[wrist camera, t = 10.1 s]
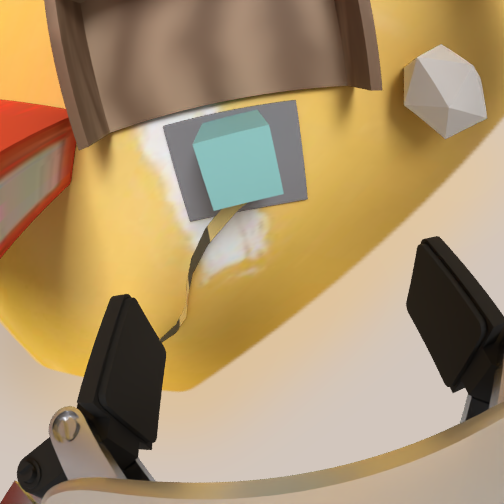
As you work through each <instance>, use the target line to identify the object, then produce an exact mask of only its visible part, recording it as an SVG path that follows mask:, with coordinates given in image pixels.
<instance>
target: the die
mask: <svg viewBox="0 0 504 504" xmlns="http://www.w3.org/2000/svg"><path fill="white" fill-rule="evenodd" d="M404 106H406V107H407V108H408V109H409V110H411V111H412V112H413V113H415V114H416V115H417V116H418V117H420V118H421V119H422V120H423V121H425V122H426V123H427V124H428V125H429V126H431V127H432V128H433V129H434V130H435V131H436V132H438V133H439V134H440V135H441V136H442V137H443V138H444V139H447V138H449V137H451V136H453V135H455V134H457V133H459V132H461V131H463V130H465V129H467V128H469V127H471V126H473V125H475V124H477V123H479V122H481V121H483V120H485V119H487V113H486V106H485V99H484V93H483V88H482V83H481V78H480V76H479V75H478V73H477V71H476V69H475V68H474V66H473V65H472V64H471V63H469V62H468V61H466V60H465V59H463V58H462V57H460V56H459V55H457V54H456V53H454V52H453V51H451V50H450V49H448V48H447V47H445V46H443V45H442V44H440V45H438V46H436V47H435V48H433V49H431V50H429V51H427V52H426V53H424V54H422V55H420V56H419V57H417V58H416V59H414V60H413V61H412V62H410V63H409V64H408V65H406V66H405V67H404Z"/></svg>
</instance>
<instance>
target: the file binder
mask: <svg viewBox="0 0 504 504" xmlns="http://www.w3.org/2000/svg"><path fill="white" fill-rule="evenodd" d="M75 147H76V140H75V137H74V134H73V131H72V127H71V124H70V121H69V117H68V114H67V110H66V109H62V108H57V107H51V106H44V105H38V104H31V103H24V102H16V101H8V100H0V258H1V257H2V256H3V255H4V253H5V252H6V251H7V250H8V249H9V247H10V246H11V245H12V244H13V243H14V241H15V240H16V239H17V238H18V237H19V236H20V235H21V233H22V232H23V231H24V230H25V229H26V228H27V227H28V226H29V225H30V224H31V222H32V221H33V220H34V219H35V218H36V217H37V216H38V215H39V214H40V213H41V212H42V211H43V210H44V209H45V208H46V207H47V206H48V205H49V204H50V203H51V202H52V201H53V200H54V199H55V198H56V197H57V196H58V195H59V194H60V193H61V192H62V191H63V190H64V189H65V188H66V187H67V186H68V185H69V184H70V182H71V178H72V169H73V161H74V154H75Z"/></svg>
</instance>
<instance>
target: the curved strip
mask: <svg viewBox="0 0 504 504" xmlns="http://www.w3.org/2000/svg"><path fill="white" fill-rule="evenodd" d="M245 204H246V203H244V204H239V205H235V206H231V207H227V208H223V209H222V210H221V211H220V212H219V213H218V214H217V215H216V216H215V217H214V218H213V220H212V221H211V222H210V224H209V225H208V226H207V227H206V229H205V231H204V233H203V235H202V237H201V239H200V241H199V243H198V246H197V248H196V250H195V252H194V254H193V256H192V259H191V263H190V268H189V274H188V279H187V286H186V306H185V308H184V310H183V312H182V314H181V316H180V318H179V320H178V322H177V324H176V325H175V326H174V327H173V328H171V329H170V330H169V331H168V332H167V333H166V334H165V335H164V336H163V337H162V338H161V339H159V340H160V341H161V343H162V342H163V341H165V340H166V339H168V338H169V337H171V336H172V335H174V334H175V333H176V332H177V330H178V329H179V327H180V326H181V324H182V323H183V321H184V320H185V318H186V315H187V301H188V294H189V289H190V284H191V279H192V274H193V272H194V270H195V268H196V266H197V264H198V263H199V261H200V259H201V257H202V255H203V253H204V251H205V249H206V247H207V245H208V244H209V243H210V242H211V240H212V239H213V238H214V237H215V236H216V235H217V234H218V232H219V231H220V230H221V229H222V228H223V227H224V225H225V224H226V223H227V222H228V221H229V220H230V219H231V218H232V216H233V215H234V214H235V213H236V212H237V211H238V210H239V209H240V208H241V207H242V206H244V205H245Z"/></svg>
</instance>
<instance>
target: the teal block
mask: <svg viewBox="0 0 504 504" xmlns="http://www.w3.org/2000/svg"><path fill="white" fill-rule="evenodd" d="M193 148H194V151H195V154H196V157H197V160H198V164H199V167H200V170H201V173H202V176H203V179H204V182H205V186H206V189H207V192H208V195H209V198H210V201H211V204H212V207H213V210H214V211H216V210H219V209H223V208H227V207H231V206H235V205H239V204H244V203H248V202H252V201H256V200H260V199H264V198H269V197H273V196H277V195H282V194H284V193H283V188H282V183H281V178H280V173H279V168H278V164H277V159H276V154H275V150H274V145H273V140H272V136H271V131H270V127H269V124H268V123H267V122H266V120H265V119H264V118H263V116H262V115H261V114H260V112H259V111H258V110H253V111H249V112H245V113H240V114H236V115H232V116H228V117H224V118H221V119H217V120H213V121H209V122H206V123H202V125H201V127H200V129H199V131H198V133H197V135H196V138H195V140H194V142H193Z"/></svg>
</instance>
